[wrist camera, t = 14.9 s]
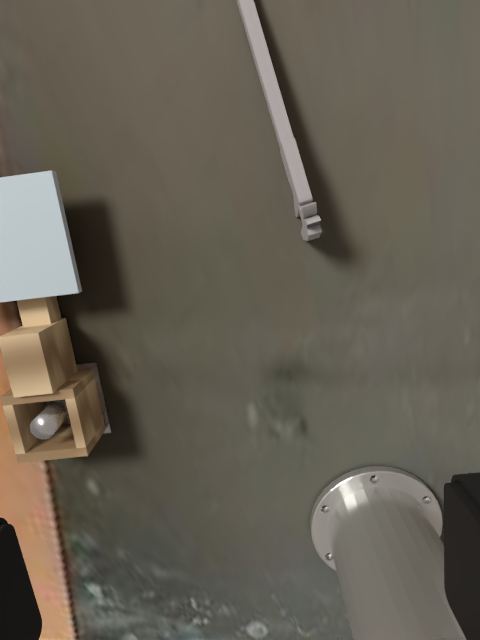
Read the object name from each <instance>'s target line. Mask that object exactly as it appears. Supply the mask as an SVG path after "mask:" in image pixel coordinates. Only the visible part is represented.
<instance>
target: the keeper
mask: <svg viewBox="0 0 480 640" xmlns="http://www.w3.org/2000/svg"><path fill="white" fill-rule="evenodd" d="M80 292H82V288H81V284H80V279H79V274H78V270H77V265H76V261H75V256H74V252H73V247H72V243H71V238H70V233H69V229H68V224H67V220H66V215H65V211H64V206H63V201H62V197H61V192H60V188H59V183H58V179H57V174H56V171H45V172H38V173H31V174H23V175H16V176H8V177H1V178H0V302H9V301H17V300H25V299H34V298H42V297H50V296H59V295H67V294H75V293H80Z"/></svg>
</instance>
